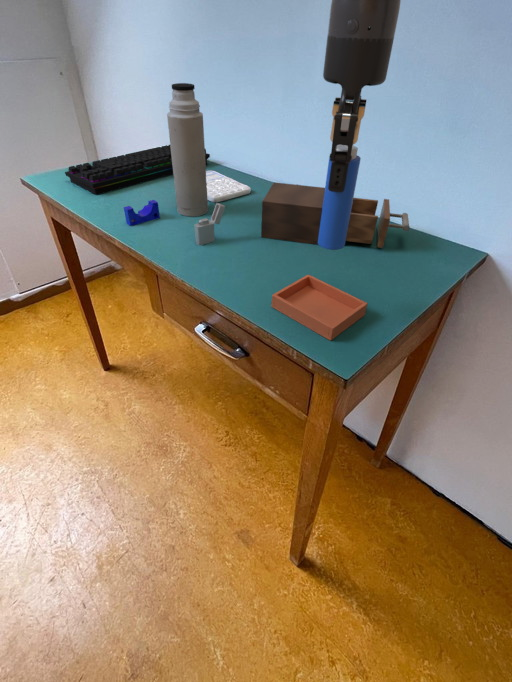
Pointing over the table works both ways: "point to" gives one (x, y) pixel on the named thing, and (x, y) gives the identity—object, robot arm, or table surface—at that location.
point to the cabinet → (292, 213)
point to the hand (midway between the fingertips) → (337, 184)
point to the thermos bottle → (187, 151)
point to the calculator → (223, 187)
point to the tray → (319, 306)
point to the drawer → (371, 221)
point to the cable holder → (142, 213)
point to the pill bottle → (338, 206)
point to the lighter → (208, 226)
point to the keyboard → (123, 170)
